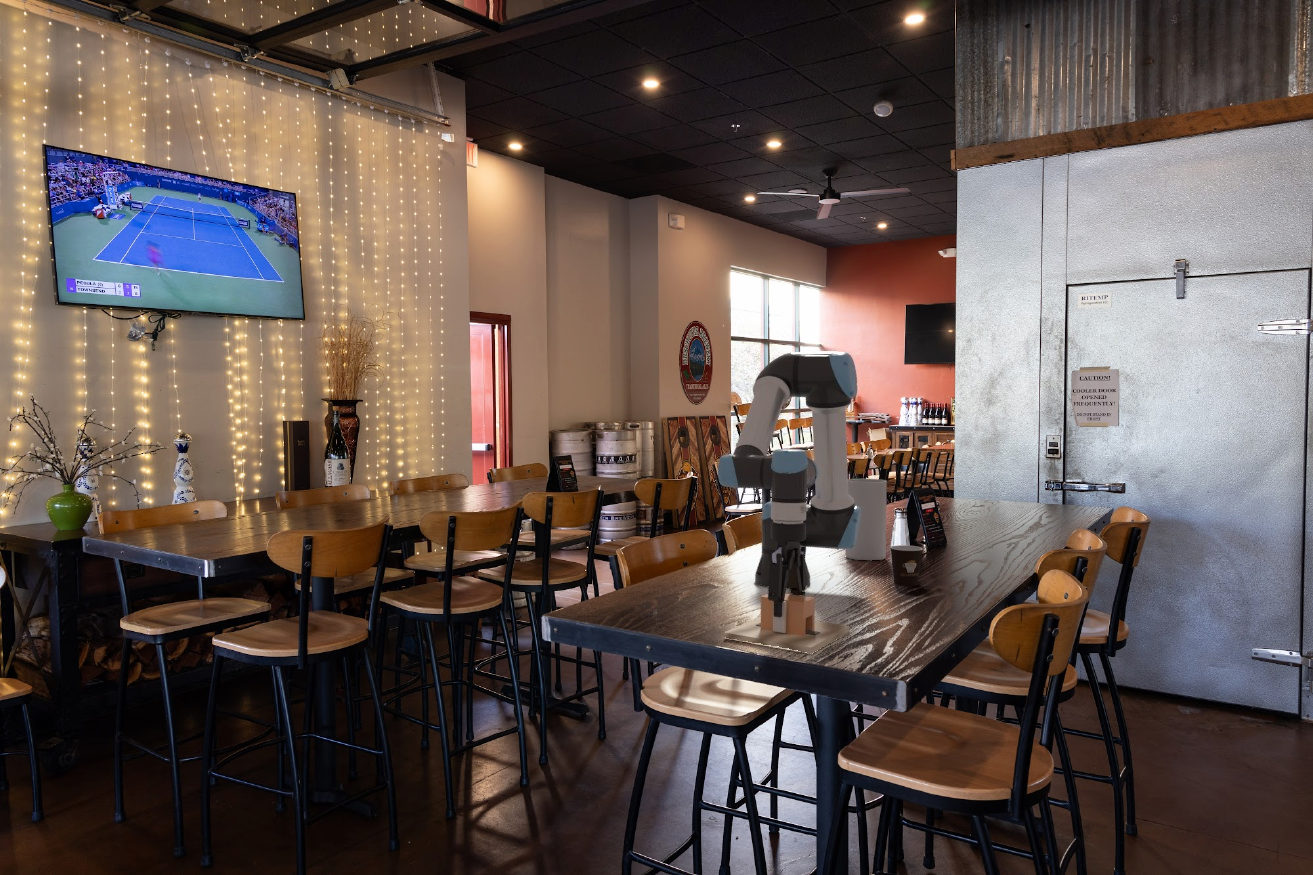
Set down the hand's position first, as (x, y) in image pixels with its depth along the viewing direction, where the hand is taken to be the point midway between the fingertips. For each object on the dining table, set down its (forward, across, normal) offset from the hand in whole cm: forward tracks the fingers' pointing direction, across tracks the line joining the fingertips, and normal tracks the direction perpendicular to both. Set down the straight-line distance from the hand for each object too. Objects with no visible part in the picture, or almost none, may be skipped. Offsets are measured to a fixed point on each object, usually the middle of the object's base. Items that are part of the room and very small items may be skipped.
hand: (786, 628), depth 189 cm
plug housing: (0, 0, 0) cm, 1 cm away
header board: (+2, 0, 0) cm, 2 cm away
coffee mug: (+1, +68, -5) cm, 69 cm away
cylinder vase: (0, +100, +20) cm, 101 cm away
